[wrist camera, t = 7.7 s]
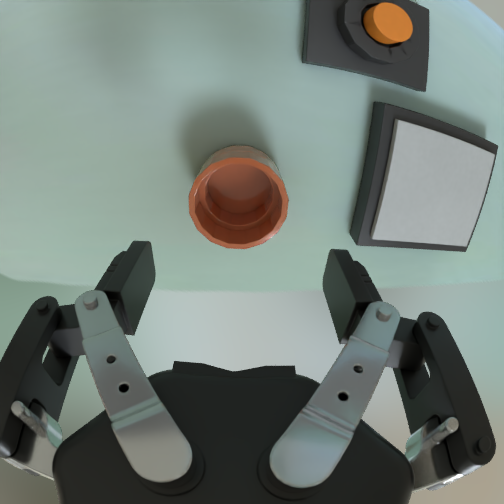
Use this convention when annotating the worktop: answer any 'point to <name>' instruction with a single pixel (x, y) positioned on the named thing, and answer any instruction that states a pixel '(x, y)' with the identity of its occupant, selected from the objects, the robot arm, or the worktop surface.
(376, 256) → the worktop surface
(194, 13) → the worktop surface
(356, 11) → the block
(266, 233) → the copper cup
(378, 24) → the tare button
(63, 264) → the worktop surface
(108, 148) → the worktop surface
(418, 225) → the scale
